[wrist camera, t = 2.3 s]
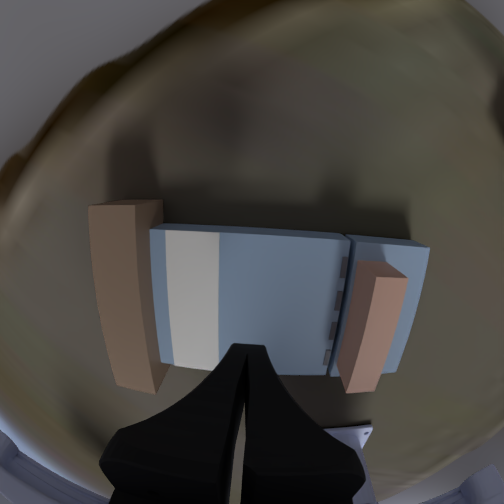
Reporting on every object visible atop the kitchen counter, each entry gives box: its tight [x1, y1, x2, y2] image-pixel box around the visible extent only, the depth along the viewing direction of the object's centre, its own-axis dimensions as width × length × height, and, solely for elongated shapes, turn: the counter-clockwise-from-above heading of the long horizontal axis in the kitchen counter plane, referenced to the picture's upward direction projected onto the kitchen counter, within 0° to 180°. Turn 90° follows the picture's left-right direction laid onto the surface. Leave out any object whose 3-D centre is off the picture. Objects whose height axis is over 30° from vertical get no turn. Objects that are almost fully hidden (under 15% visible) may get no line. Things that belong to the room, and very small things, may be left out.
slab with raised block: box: [328, 234, 430, 393], centre depth 15 cm, size 9×5×5 cm, turn 177°
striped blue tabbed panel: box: [88, 199, 351, 395], centre depth 16 cm, size 12×14×4 cm
